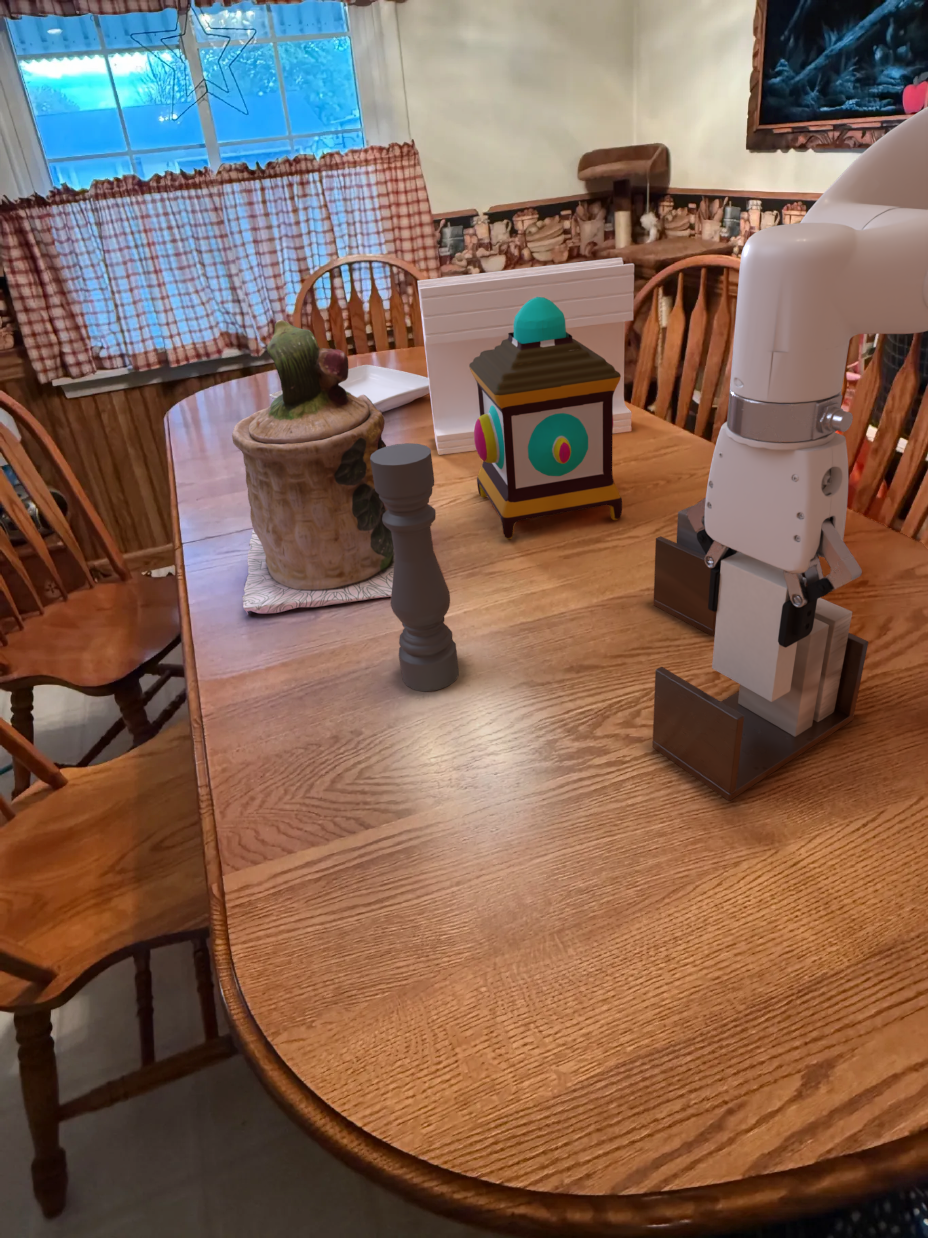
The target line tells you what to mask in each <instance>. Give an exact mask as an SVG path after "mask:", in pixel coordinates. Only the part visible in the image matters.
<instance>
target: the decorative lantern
mask: <svg viewBox="0 0 928 1238" xmlns="http://www.w3.org/2000/svg"><path fill="white" fill-rule="evenodd" d="M469 368H470V371H471V373H472V375H473V376H474V378H475V380H476V382H477V386H478V396H479V408H480V417H479V418H478V419H477V421H476V424H475V428H474V442H475V447H476V450H475V451H476V452H477V454H478V457H480V459H481V461H482V464H481V466H480V468H479V471H478V474H477V477H476V485H477V491H478V494H479V496H480V497H481V498H483V499H484V498H487V499H488V500H489V502H490V503H491V505H492V506H493V508H494V510H495V511H496V513H497V514H498V516H499V518H500V521H501V527H502V533H503V536H504V538H505V539H507V540H510V539H511V540H512V538H513V537H514V529H515V525H516V523H518V522H520V521H523V520H525V521H526V520H531V519H535V518H543V517H548V516H553V515H554V516H555V515H559V514H565V513H571V512H576V511H582V510H588V509H592V508H599V507H605V506H608V508H609V516H610V518H611V519H612V520H613V521H618V520H620V519H621V517H622V513H623V499H622V496H621V493H620V491H619V489H618V487H617V485H616V483H615V481H614V476H613V434H612V432H613V394H614V391H615V389H616V387H617V385H618V383H619V381H620V378H621V375H620V373H619V372H617V371H616V370H615V368H614V367H613V366H612V365H611V364H609V363H608V362H606V360H605V359H604V358H602V357H601V356H599V355H598V354H596V353H595V352H593V351H592V350H590V349H589V348H587V347H586V346H584V345H583V344H581V343H580V342H578V341H576V340H575V339H573V338H572V336H571V335H570V334H568V333H567V332H566V325H565V318H564V314H563V312H562V311H561V310H560V309H559V308H558V307H557V306H556V305H555V304H554V303H553V302H551V301H550V300H548V299H546V298H544V297H536V298H533V299H531V300H529V301H528V302H527V303H525V304H524V305H523V307H522V308H521V309H520V311H519V312H518V313H517V315H516V316H515V319H514V332H512V333H508V339H505V340H503V341H502V343H501V345H498V346H496V347H495V349H493V350H486V351H483V352H481V353H480V356H478V357H475V358H474V360H473V362H471V363H470V364H469Z"/></svg>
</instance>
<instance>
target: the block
mask: <svg viewBox="0 0 928 1238" xmlns="http://www.w3.org/2000/svg"><path fill="white" fill-rule="evenodd" d="M417 290H418V299H419V307H420V315H421V325H422V334H423V343H424V352H425V358H426V359H425V360H426V370H427V378H428V380H429V389H430V393H429V396H430V405H431V414H432V423H433V432H434V442H435V445H436V450H437V454H438V456H440V455H443V456H444V455H449V454H457V453H466V452H473V451H474V452H475V451H477V450H476V447H475V442H474V428H475V424H476V421H477V419H478V418H479V417H480V408H479V396H478V386H477V382H476V380H475V378H474V376H473V375H472V373H471V371H470V368H469V364H470V363H471V362H473V360H474V358H475V357H478V356H480V353H481V352H483V351H486V350H493V349H495V347H496V346H498V345H501V343H502V341H503V340H505V339H508V333H512V332H514V319H515V316H516V315H517V313H518V312H519V311H520V309H521V308H522V307H523V305H524V304H525V303H527V302H528V301H529V300H531V299H533V298H536V297H544V298H546V299H548V300H550V301H551V302H553V303H554V304H555V305H556V306H557V307H558V308H559V309H560V310H561V311H562V312H563V314H564V318H565V325H566V332H567V333H568V334H570V335H571V336H572V338H573V339H575V340H576V341H578V342H580V343H581V344H583V345H584V346H586V347H587V348H589V349H590V350H592V351H593V352H595V353H596V354H598V355H599V356H601V357H602V358H604V359H605V360H606V362H608V363H609V364H611V365H612V366H613V367H614V368H615V370H616V371H617V372H619V373H620V375H621V378H620V381H619V383H618V385H617V387H616V389H615V391H614V394H613V432H612V435H614V434H620V433H621V434H622V433H628V432H632V415H633V414H632V413H633V412H632V411H631V410H630V409H629V408H628V407H627V405H626V402H625V329H626V328H625V327H626V326H625V324H626V322H631V321H634V307H635V305H634V304H635V303H634V302H635V301H634V300H635V298H634V297H635V294H634V291H635V264H634V263H625V264H624V261H623V257H612V258H604V259H603V258H602V259H596V260H587V261H579V262H569V263H561V264H551V265H543V266H536V267H534V266H533V267H526V268H515V269H508V270H499V271H490V272H482V273H473V274H463V275H456V276H455V275H454V276H446V277H445V276H444V277H438V278H429V279H421V280H417Z"/></svg>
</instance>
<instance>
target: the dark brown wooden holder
mask: <svg viewBox="0 0 928 1238" xmlns="http://www.w3.org/2000/svg"><path fill="white" fill-rule="evenodd" d="M692 506H693V505H691V506H689V507H686V508H684V509H681V510H678V511H677V524H676V525H677V526H676V542H675V541H672V540H670V539H668V538H666V537H664V536H661V535H660V536H658V537H655V551H654V552H655V554H654V576H653V577H654V578H653V580H654V581H653V603H652V604H653V606H655V607H656V608H658V609H660V610H662V611H664V612H666V613H667V614H669V615H671V616H673V617H676V618H677V619H679V620H680V621H683V622H685V623H687V624H688V625H690V626H692V627H694V628H696V629H698V630H700V631H702V632H704V633H705V634H707V635H709V636H711V637H713V636H715V627H716V616H717V611H716V612H713V611H711V610H709V609H708V601H709V585H710V573H711V568H709V567H708V566H707V565H706V564H705V561H704V558H705V556H706V554H705V552H704V550H703V549H702V547H701V545H700V543H699V542H698V540H697V531H696V532H695V530H694V528H693V526H692V525H691V523H690V521H689V519H688V517H687V514H686V512H687V510H688V509H689V508H691V507H692ZM802 577H804V578H806V577H805V573H802ZM806 586H808V585H807V581H806Z"/></svg>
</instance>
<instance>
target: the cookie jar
mask: <svg viewBox="0 0 928 1238" xmlns="http://www.w3.org/2000/svg"><path fill="white" fill-rule="evenodd" d="M266 351H267V355H268V356H269V357H270V359H271V360H272V361H273V363H274V367H275V369H276V371H277V375H278V377H279V381H280V389H281V390H282V393H283V394H282V395H280V396H278V397H277V398H276V399H275V400H274V399H273V401H272V402H271V404H270V406H268V407H266V408H263V409H260V410H258V411H256V412H254V413H252V414H250V415H249V416H247V417H245V418H242V419H241V420H239V421H238V422H237V423H236V424H235V426H233V431H232V432H231V434H232V435H231V438H232V444H233V445H234V446H235V447H236V448H237V449H238V450H239V451H241V453H242V456H243V463H244V468H245V483H246V488H247V499H248V503H249V507H250V512H249V513H250V521H251V526H252V531H251V538H250V539H249V545H248V546H249V547H250V549H249V550H248V552H247V561H246V562H247V566H248V568H247V573H248V575H247V576H246V581H245V586H244V588H243V592H244V594H243V595H241V597H242V607H243V610H244V611H245V612H246V614H247V615H249V612H253V613H256V614H277V613H282V612H285V611H289V610H294V609H297V608H318V607H325V606H331V605H339V604H345V603H351V602H353V603H354V602H358V601H366V600H373V599H380V598H389V597H390V598H391V594H392V584H393V574H394V563H395V553H394V547H393V540H392V534H391V531H390V530H389V529H388V528H387V527H386V526H385V525H384V524H383V521H382V517H383V514H384V513H385V512H386V511H387V510H388V509H387V508H386V507H385V505H384V503H383V502H382V501H381V499H380V498H379V494H378V493H377V492H376V491H375V486H374V480H373V474H372V467H371V461H370V457H371V454H373V453H374V452H375V451H376V450H379V449H381V448H384V447H387V444H386V443H385V441H384V440H383V439H382V435H383V432H384V429H385V417H384V415H383V412H382V413H381V412H380V411H379V410H378V409H377V408H376V407H375V406H374V405H373V403H372V402H371V400H370V399H369V398H368V397H367V396H365V395H364V394H362V395H360V396H359V397H355V396H353V395H351V393H349V392H347V391H346V390H345V389H343V388H342V387H341V386H340V385H339V383H341V382H343V381H345V380H346V379H347V378H348V369H349V358H348V355H347V354H346V353H345V352H344V351H343V350H340V349H337V348H336V349H335V348H327V347H326V348H325V347H320V346H319V344H318V340H317V338H316V337H315V335H314V333H313V331H311V330H310V329H304V328H300V327H298V326H295V325H293V324H291V323H289V322H288V321H285V320H283V319H277V321H276V322H275V324H274V331H273V336H272V338H271V339H270V341H269V343H268V345H267V346H266Z"/></svg>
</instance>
